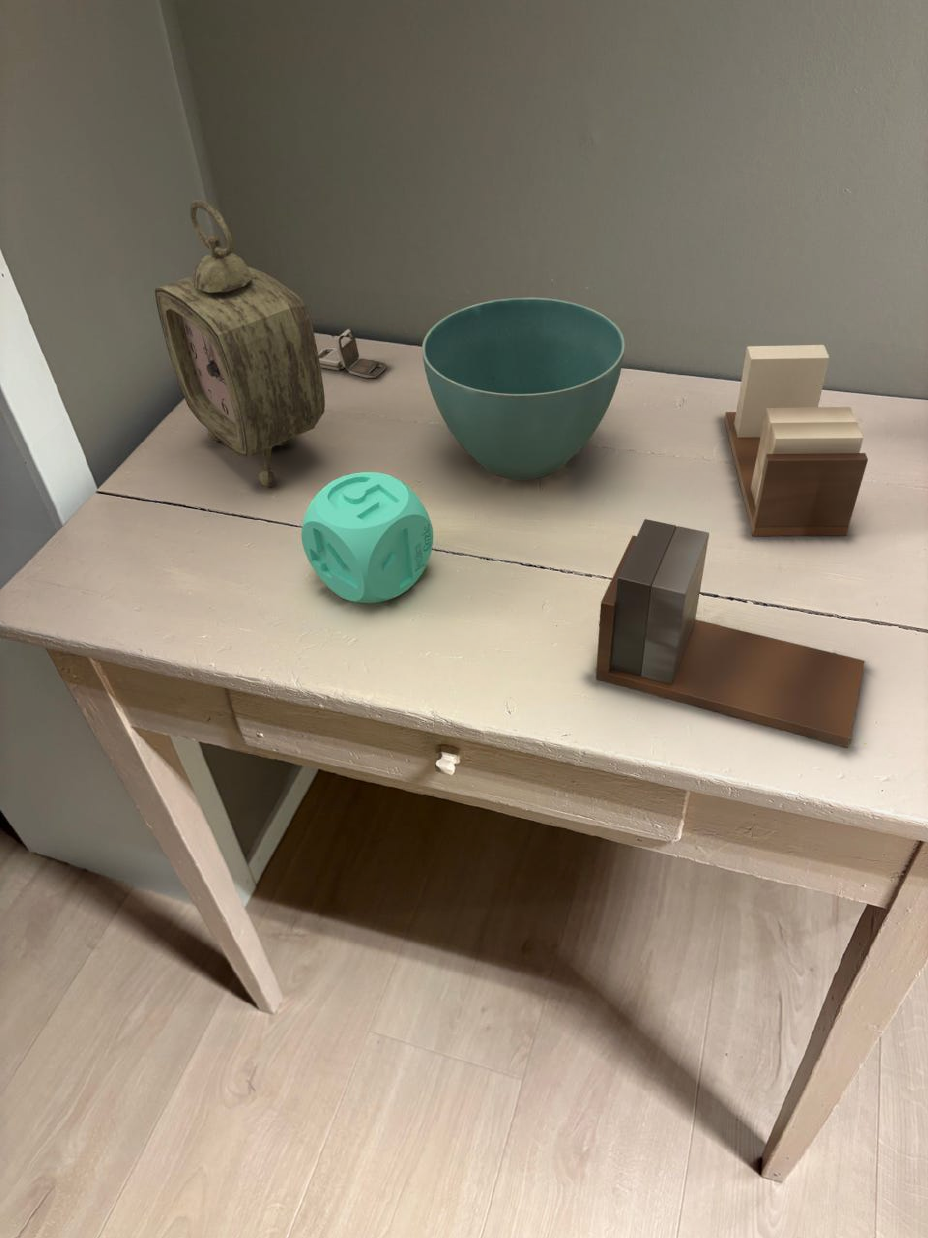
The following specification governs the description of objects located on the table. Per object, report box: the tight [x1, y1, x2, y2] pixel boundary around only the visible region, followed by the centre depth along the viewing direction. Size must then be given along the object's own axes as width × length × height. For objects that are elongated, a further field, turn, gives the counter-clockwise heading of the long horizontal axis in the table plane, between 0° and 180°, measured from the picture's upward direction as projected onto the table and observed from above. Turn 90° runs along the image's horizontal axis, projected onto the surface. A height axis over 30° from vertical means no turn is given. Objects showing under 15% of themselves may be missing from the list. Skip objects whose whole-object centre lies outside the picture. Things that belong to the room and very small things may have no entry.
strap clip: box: [318, 328, 387, 379], centre depth 108 cm, size 8×3×4 cm, turn 63°
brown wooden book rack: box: [724, 406, 869, 537], centre depth 87 cm, size 19×8×10 cm, turn 177°
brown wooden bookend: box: [595, 518, 866, 748], centre depth 69 cm, size 18×8×10 cm, turn 67°
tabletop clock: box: [154, 199, 326, 487], centre depth 89 cm, size 14×9×25 cm, turn 38°
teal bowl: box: [421, 297, 626, 481], centre depth 91 cm, size 18×18×12 cm
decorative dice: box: [300, 471, 434, 604], centre depth 80 cm, size 8×8×8 cm
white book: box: [734, 344, 830, 438], centre depth 91 cm, size 2×7×8 cm, turn 87°
